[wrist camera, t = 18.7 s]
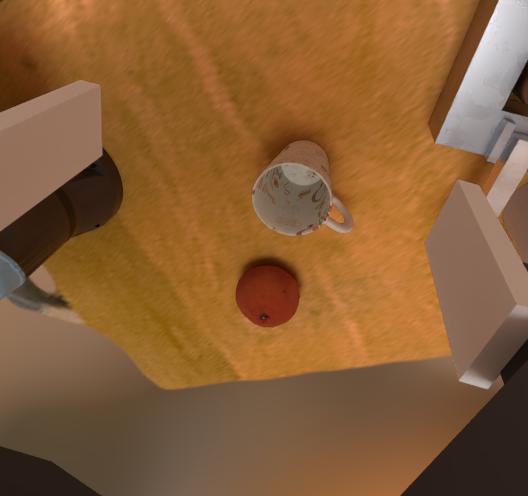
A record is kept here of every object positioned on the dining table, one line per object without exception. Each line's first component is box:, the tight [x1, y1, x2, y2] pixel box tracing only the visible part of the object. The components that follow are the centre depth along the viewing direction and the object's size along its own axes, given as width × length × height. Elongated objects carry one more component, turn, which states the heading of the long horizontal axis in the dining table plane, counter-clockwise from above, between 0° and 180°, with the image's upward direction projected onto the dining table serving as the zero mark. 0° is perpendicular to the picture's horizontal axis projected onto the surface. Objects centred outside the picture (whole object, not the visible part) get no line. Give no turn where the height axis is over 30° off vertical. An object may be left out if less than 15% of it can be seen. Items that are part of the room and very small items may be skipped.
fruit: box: [236, 265, 300, 327], centre depth 59 cm, size 9×9×8 cm
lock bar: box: [481, 132, 528, 218], centre depth 39 cm, size 5×12×7 cm, turn 169°
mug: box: [252, 140, 354, 236], centre depth 47 cm, size 8×13×10 cm, turn 55°
